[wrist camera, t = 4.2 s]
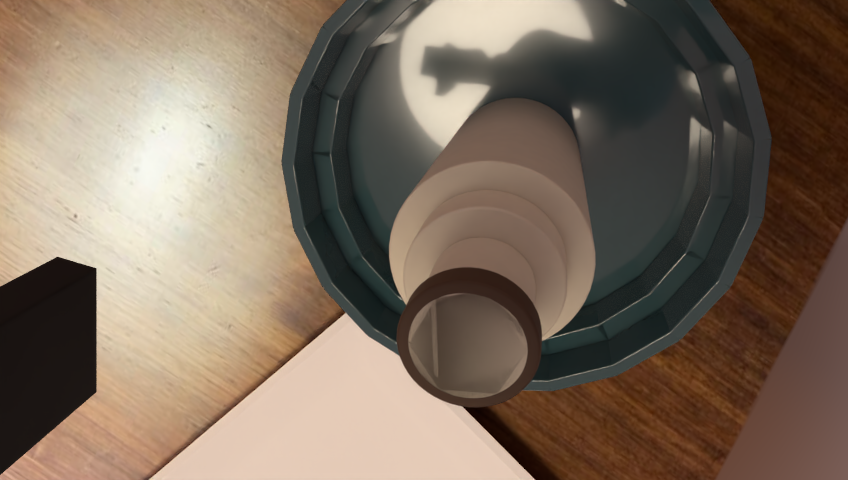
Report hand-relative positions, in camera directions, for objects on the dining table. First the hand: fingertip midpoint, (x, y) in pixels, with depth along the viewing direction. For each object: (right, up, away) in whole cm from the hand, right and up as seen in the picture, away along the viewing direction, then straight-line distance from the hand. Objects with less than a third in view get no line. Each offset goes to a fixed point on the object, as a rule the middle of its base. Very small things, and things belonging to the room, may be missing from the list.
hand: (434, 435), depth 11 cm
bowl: (+4, +7, +19) cm, 20 cm away
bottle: (+4, +7, +18) cm, 20 cm away
